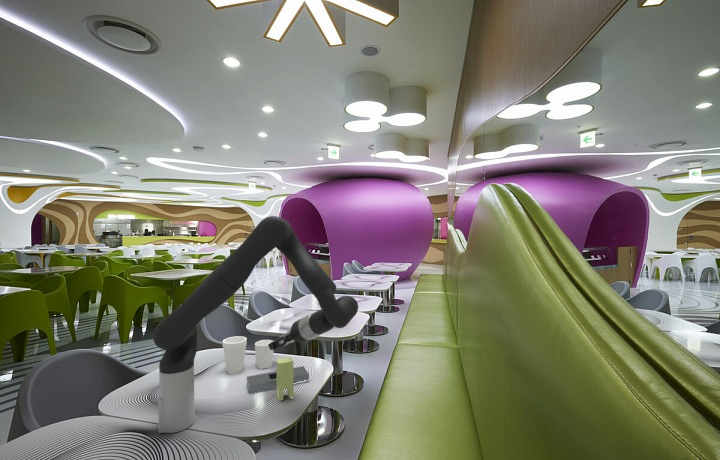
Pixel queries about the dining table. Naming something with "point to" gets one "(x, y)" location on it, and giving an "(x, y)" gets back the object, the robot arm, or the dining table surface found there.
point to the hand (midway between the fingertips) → (279, 341)
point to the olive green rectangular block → (284, 377)
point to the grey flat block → (273, 379)
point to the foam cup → (234, 353)
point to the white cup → (263, 354)
